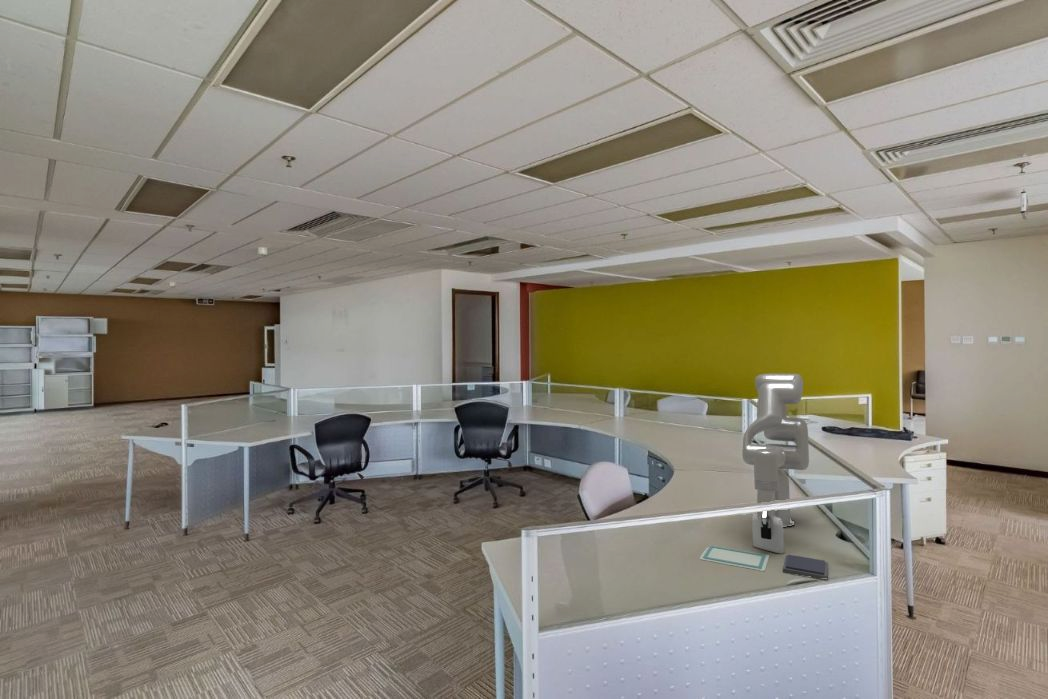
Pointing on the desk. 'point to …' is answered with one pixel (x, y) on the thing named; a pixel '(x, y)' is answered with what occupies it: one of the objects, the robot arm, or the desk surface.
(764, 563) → the teal bordered white mat
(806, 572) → the ink pad
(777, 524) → the photo printer
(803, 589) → the desk surface
